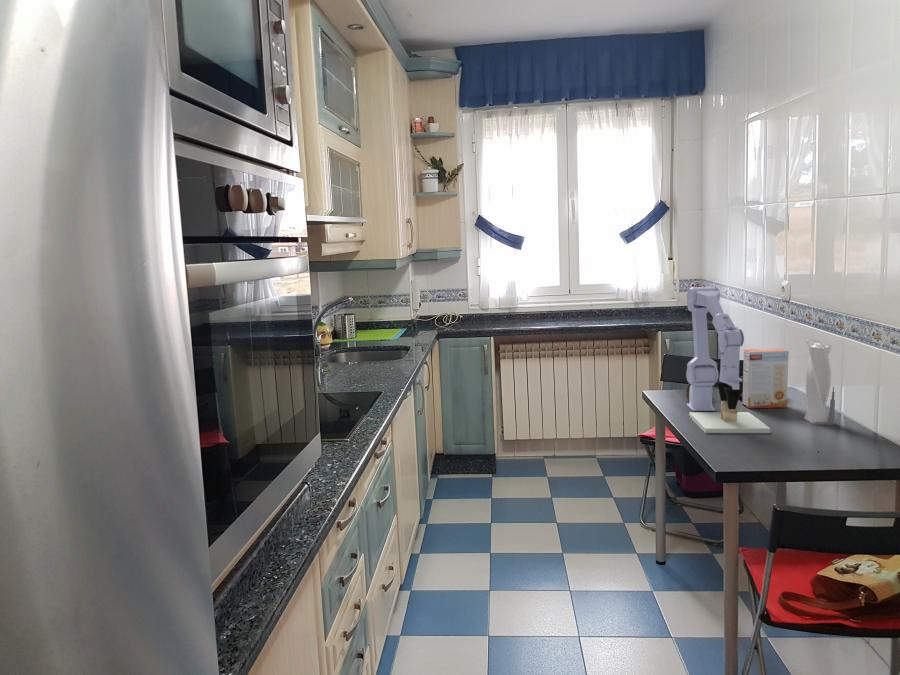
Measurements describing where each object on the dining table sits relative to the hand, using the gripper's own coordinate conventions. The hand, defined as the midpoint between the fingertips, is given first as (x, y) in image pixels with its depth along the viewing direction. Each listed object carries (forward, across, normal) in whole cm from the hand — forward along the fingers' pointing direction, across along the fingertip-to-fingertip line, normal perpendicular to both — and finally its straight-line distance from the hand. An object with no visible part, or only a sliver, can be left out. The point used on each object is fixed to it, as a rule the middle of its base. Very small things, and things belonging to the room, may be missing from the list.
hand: (728, 406), depth 230 cm
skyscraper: (+7, +4, -30) cm, 31 cm away
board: (+6, 0, 0) cm, 6 cm away
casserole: (+7, +41, -22) cm, 47 cm away
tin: (+7, +35, +1) cm, 36 cm away
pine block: (+5, 0, 0) cm, 5 cm away
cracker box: (+7, +24, -20) cm, 32 cm away
